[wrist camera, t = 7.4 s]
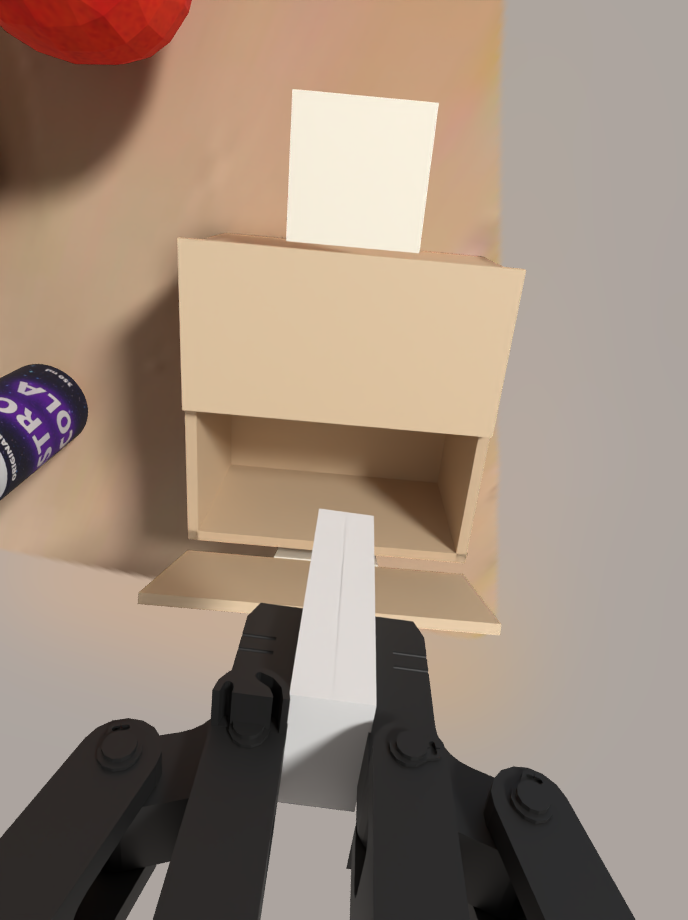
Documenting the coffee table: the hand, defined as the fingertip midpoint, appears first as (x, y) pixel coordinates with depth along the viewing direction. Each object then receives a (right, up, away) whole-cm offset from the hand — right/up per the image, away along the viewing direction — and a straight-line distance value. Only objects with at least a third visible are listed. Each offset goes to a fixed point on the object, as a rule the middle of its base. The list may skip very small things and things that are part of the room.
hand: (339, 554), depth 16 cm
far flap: (-1, -3, +16) cm, 17 cm away
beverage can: (-20, +7, +25) cm, 33 cm away
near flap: (0, +11, +11) cm, 16 cm away
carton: (0, +9, +23) cm, 25 cm away
